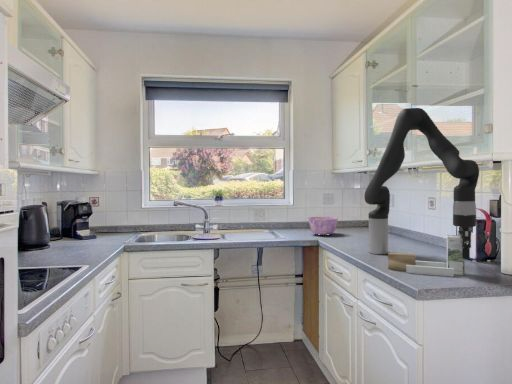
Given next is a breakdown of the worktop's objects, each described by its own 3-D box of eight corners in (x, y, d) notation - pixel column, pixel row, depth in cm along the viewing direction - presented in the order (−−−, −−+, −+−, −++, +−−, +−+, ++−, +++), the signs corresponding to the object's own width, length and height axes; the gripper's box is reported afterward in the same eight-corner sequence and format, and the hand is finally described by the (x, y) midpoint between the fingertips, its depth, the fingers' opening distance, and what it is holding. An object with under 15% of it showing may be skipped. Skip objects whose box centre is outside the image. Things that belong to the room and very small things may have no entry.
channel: (394, 266, 151) (394, 259, 151) (451, 270, 142) (451, 262, 142) (392, 272, 141) (392, 264, 141) (453, 277, 132) (453, 269, 132)
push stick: (388, 267, 148) (388, 252, 148) (415, 269, 144) (415, 254, 143) (388, 268, 145) (388, 254, 145) (415, 271, 141) (415, 255, 141)
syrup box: (463, 272, 138) (463, 234, 138) (464, 276, 133) (464, 237, 133) (446, 271, 141) (446, 234, 140) (447, 275, 135) (447, 236, 135)
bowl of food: (306, 236, 239) (305, 219, 239) (310, 232, 258) (310, 216, 258) (336, 237, 233) (336, 219, 233) (339, 233, 252) (339, 216, 252)
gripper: (451, 211, 143) (451, 252, 143) (454, 214, 130) (454, 259, 130) (473, 212, 140) (473, 254, 140) (478, 215, 127) (479, 261, 127)
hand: (464, 256), depth 135 cm, fingers open, 8 cm apart
